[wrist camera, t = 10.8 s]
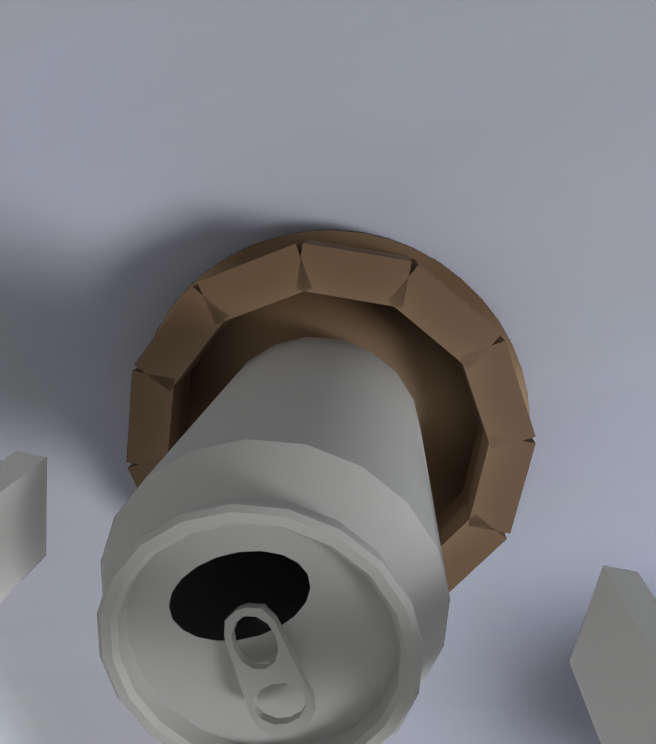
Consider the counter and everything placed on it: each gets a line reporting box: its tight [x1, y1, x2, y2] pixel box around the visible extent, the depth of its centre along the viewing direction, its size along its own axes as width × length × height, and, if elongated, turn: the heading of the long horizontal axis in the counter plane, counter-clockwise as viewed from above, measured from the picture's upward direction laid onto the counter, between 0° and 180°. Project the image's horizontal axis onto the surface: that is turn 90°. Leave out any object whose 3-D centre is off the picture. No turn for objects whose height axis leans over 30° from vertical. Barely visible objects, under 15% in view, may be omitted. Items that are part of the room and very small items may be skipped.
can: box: [97, 337, 450, 744], centre depth 16 cm, size 8×8×12 cm
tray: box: [127, 230, 535, 592], centre depth 22 cm, size 15×15×3 cm
